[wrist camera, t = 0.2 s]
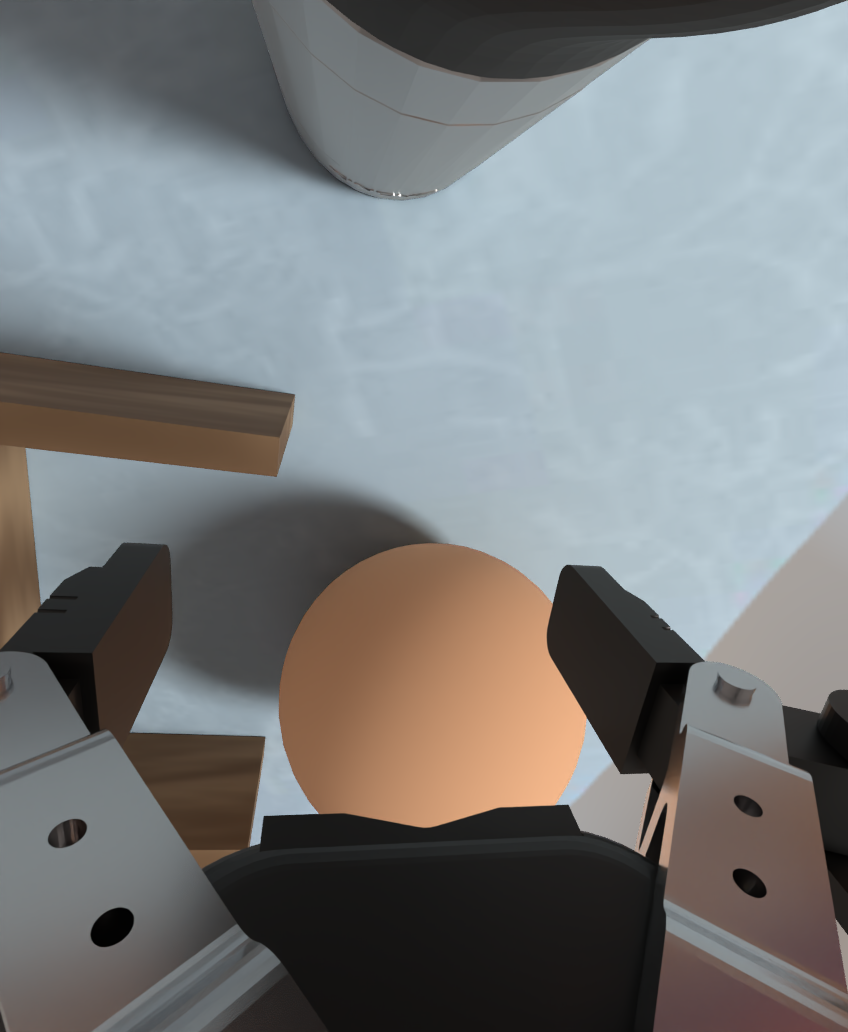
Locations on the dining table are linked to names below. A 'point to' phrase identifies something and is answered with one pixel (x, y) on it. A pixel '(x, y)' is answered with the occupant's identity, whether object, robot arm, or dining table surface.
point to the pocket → (159, 439)
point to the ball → (428, 691)
